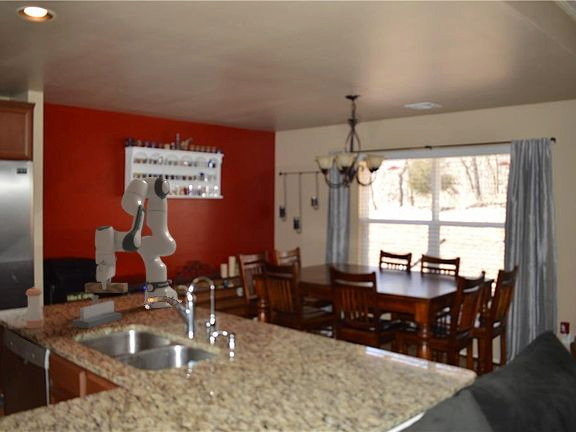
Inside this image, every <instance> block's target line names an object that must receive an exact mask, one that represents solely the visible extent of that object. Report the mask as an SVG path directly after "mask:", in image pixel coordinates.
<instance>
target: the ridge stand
mask: <svg viewBox="0 0 576 432" xmlns="http://www.w3.org/2000/svg"><path fill="white" fill-rule="evenodd" d="M114 302H115V301H114V300H106V301H103V302H99V303H98V304H94V305H92V304H91V305H87V306H84V307H80V308H79V318H78V319H74V320H72V328H77V327H79V329H86V328H88V329H89V328H90V329H93V328H95V327H99V326H103V325H106V324H109V323H111V322H112V323H113V322H115V321H119V320H122V318H123V317H122V312H116V311H115V303H114ZM92 327H93V328H92ZM88 329H87V330H88Z"/></svg>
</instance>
